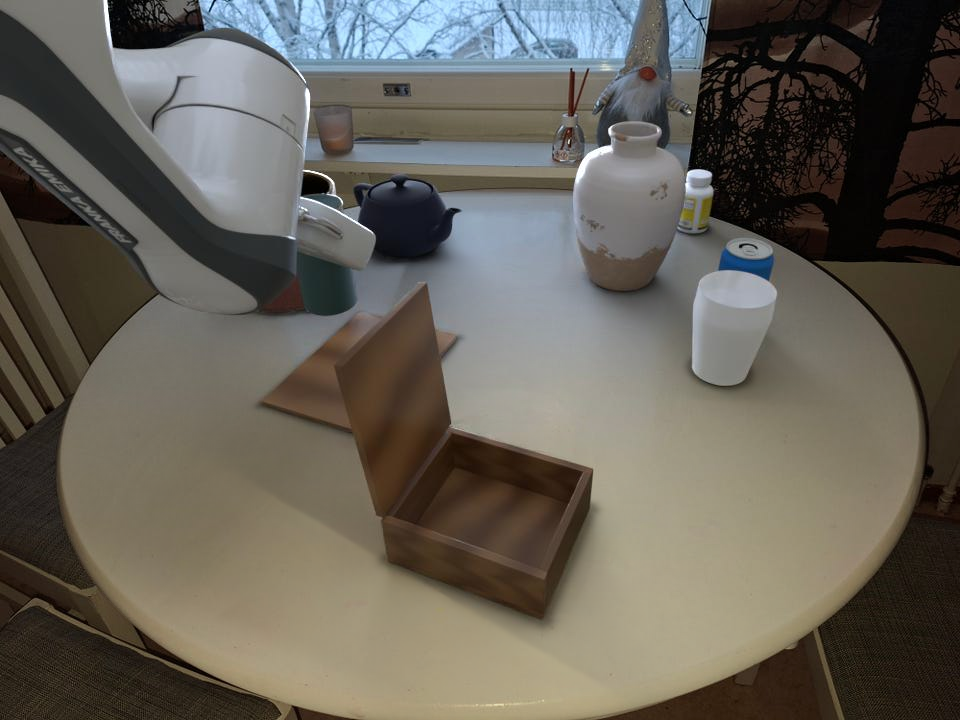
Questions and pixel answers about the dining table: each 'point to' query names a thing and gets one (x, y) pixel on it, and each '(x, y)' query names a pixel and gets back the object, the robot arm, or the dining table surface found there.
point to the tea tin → (325, 275)
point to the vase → (627, 206)
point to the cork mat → (329, 376)
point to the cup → (729, 324)
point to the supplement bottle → (696, 202)
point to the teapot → (404, 216)
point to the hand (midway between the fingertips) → (325, 249)
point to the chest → (490, 519)
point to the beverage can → (748, 257)
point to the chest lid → (395, 396)
